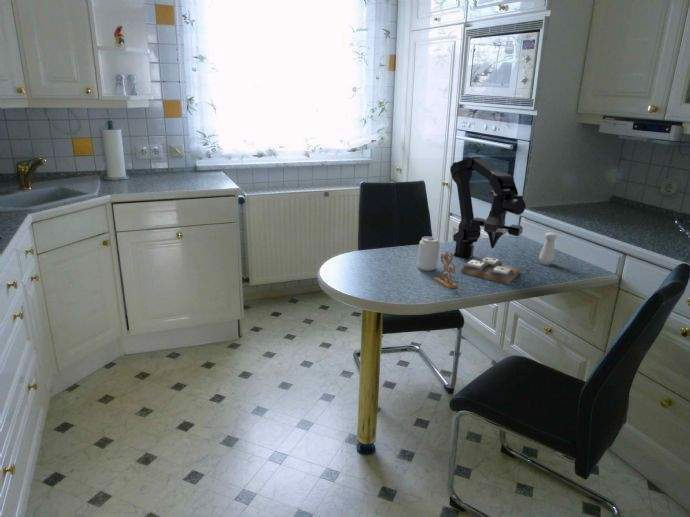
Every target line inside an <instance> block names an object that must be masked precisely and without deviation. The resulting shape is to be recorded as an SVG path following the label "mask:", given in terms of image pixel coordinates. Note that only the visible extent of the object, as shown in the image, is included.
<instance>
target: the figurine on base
mask: <svg viewBox="0 0 690 517" xmlns="http://www.w3.org/2000/svg"><path fill="white" fill-rule="evenodd" d="M453 260H454V255H453V253H452V252H451V251H446V252H445V253H442V254H441V255H440V261H441V263H442V264H443V265H444V266H443V270H442V272H441V273H440V275H439V276H436V277H434V278H433V281H435V282H436V283H437V284H439V285H442V286H443V287H445V288H446V289H450V290H451V289H456V288H458V284H456V283H455V282H453V280H452V279H453V278H452V274H455V273H456V266H455V264H454V263H453V262H452V261H453ZM450 265H451V266H450ZM445 272H446V273H445ZM444 273H445V274H444Z"/></svg>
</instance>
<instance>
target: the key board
mask: <svg viewBox="0 0 690 517" xmlns="http://www.w3.org/2000/svg"><path fill="white" fill-rule="evenodd" d="M485 257H486V256H484V257H482V258H478V257H474V258H473V259H469V260H468V261H467V262H465V263H464V264H463V266H461V270H460V273H462V274H464V275H465V274H466V275H470V276H474V277H478V278H481V279H486V280H490V281H493V282H497V283H500V282H501V284H505V285H509V284H510V283H511V282H512V281H514V279H516V278H517V277H518V275H520V274H519V273H521V268H519V267H516V266H512V265H507V264H504V263H502V260H499V261H498V263H497V264H496V265H494V264H489V263H485V262H484V263H485V265H484V266H483V267H481V268H478V267H474V266H470V265H467V263H468V262H470V261H471V260H476V261H480V262H482V259H484V258H485ZM497 266H501V267H505V268H509V269H511V271H510V273H509V274H503V273H499V272H495V271H493V269H494V268H495V267H497Z"/></svg>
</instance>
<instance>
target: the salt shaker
mask: <svg viewBox="0 0 690 517" xmlns="http://www.w3.org/2000/svg"><path fill="white" fill-rule="evenodd" d="M544 238H545V242H544V244H543V246H542V249H541V250H540V253H539V255H538V258H539V262H540V264H541V263H542V264H541V265H543V266H550V265H552V263H553V262H554V261H555V241H556V239H557V234H556V233H554V232H551V231H550V232H546V233H545V234H544Z"/></svg>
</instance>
